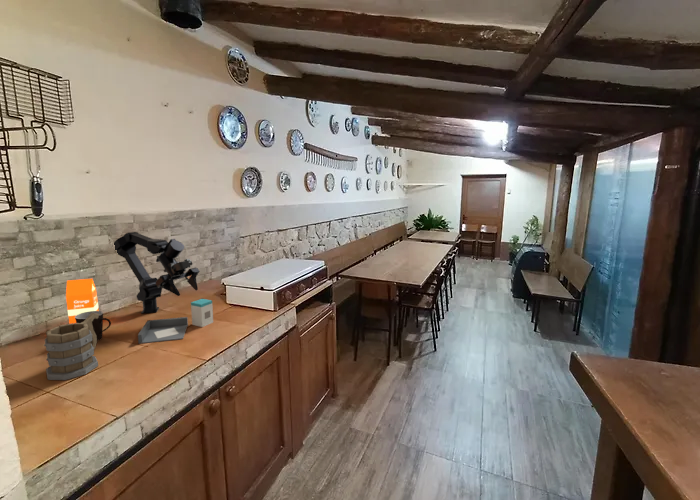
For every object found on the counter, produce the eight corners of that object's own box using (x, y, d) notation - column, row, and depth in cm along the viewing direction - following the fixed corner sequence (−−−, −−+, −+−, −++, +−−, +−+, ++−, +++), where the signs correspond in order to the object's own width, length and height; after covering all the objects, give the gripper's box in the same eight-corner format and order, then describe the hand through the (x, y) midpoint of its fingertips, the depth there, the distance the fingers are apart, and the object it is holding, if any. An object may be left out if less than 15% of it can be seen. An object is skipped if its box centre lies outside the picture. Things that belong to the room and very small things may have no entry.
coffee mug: (73, 341, 132) (70, 316, 130) (98, 333, 140) (95, 309, 138) (89, 348, 127) (86, 322, 125) (114, 339, 134) (112, 314, 133)
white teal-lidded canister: (192, 324, 150) (190, 302, 148) (203, 320, 155) (202, 298, 154) (202, 327, 147) (201, 304, 146) (213, 322, 153) (212, 300, 151)
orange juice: (75, 323, 149) (69, 278, 145) (100, 320, 153) (95, 276, 149) (69, 330, 142) (63, 282, 138) (96, 327, 146) (90, 280, 142)
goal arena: (148, 328, 145) (147, 320, 144) (187, 324, 150) (187, 316, 149) (138, 343, 131) (137, 335, 130) (182, 339, 135) (182, 330, 135)
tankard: (76, 381, 105) (70, 334, 103) (35, 379, 106) (28, 333, 103) (120, 350, 125) (116, 311, 123) (86, 350, 125) (81, 310, 123)
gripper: (159, 257, 142) (178, 287, 140) (196, 250, 159) (214, 277, 157) (147, 272, 147) (166, 302, 145) (184, 264, 164) (202, 291, 162)
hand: (188, 292), depth 152 cm, fingers open, 9 cm apart
